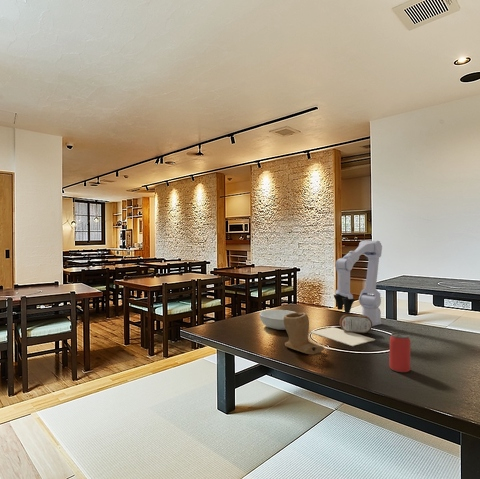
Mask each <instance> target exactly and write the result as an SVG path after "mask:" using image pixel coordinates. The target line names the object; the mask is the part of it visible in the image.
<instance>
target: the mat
mask: <svg viewBox="0 0 480 479" xmlns="http://www.w3.org/2000/svg"><path fill="white" fill-rule="evenodd" d="M310 334H313V335H316V336H320V337H323V338H326V339H327V340H332V341H335V342H338V343H341V344H344V345H347V346H350V347H355V346H359V345H363V344H366V343H369V342H374V341H376V339H375V338H372V337H369V336H365V335H362V334H360V333H354V332H346V331H344V330H343V329H342V328H341V329H340V328H338V327H334V326H333V327H332V326H331V327H326V328H322V329H317V330H313V331H310Z"/></svg>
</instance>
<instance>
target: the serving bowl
mask: <svg viewBox="0 0 480 479" xmlns="http://www.w3.org/2000/svg"><path fill="white" fill-rule="evenodd" d="M294 312H295V311H292V310H287V309H286V310H285V309H267V310H261V311H260V312H259V319H260V321H261V323H262V324H263V325H264V326H265V327H267V328H270V329H273V330H278V331H283V330H285V331H286V328H285V325H284V316H285V315H287V314H290V313H294Z"/></svg>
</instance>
